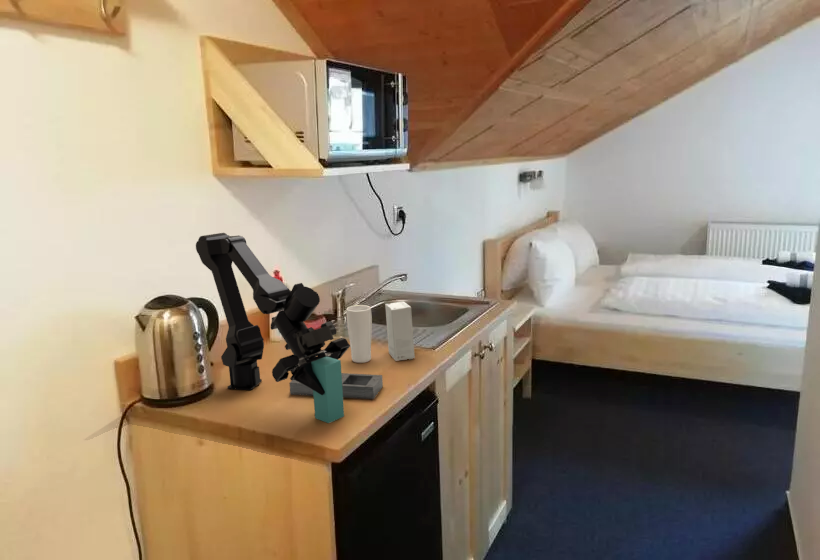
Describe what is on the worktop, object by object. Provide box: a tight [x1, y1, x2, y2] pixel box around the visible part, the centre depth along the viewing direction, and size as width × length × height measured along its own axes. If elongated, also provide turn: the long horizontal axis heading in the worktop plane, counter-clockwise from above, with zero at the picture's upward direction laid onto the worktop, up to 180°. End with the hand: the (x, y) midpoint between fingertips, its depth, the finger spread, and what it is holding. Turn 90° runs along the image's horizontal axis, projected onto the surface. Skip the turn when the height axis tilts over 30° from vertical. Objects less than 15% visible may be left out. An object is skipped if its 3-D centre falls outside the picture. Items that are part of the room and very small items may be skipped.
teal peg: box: [311, 357, 345, 424], centre depth 140 cm, size 4×4×13 cm
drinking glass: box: [346, 304, 373, 364], centre depth 175 cm, size 7×7×15 cm
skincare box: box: [384, 301, 416, 362], centre depth 178 cm, size 8×6×15 cm
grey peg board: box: [289, 372, 384, 400], centre depth 156 cm, size 21×8×3 cm, turn 77°
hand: (332, 390), depth 139 cm, fingers closed on teal peg, 4 cm apart
